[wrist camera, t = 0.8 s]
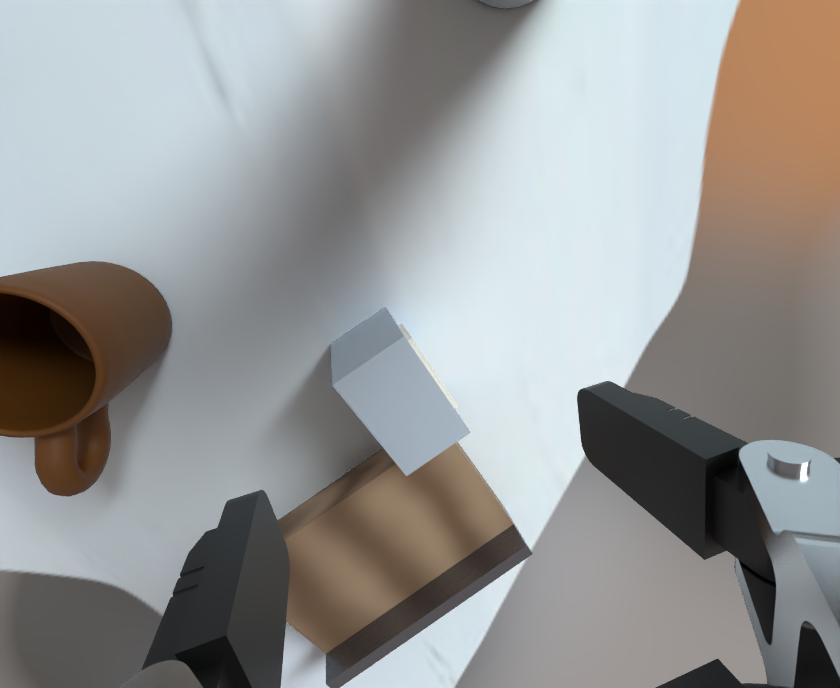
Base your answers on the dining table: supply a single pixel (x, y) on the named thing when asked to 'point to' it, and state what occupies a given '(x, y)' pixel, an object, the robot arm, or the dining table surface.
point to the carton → (395, 391)
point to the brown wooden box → (392, 555)
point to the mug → (73, 361)
